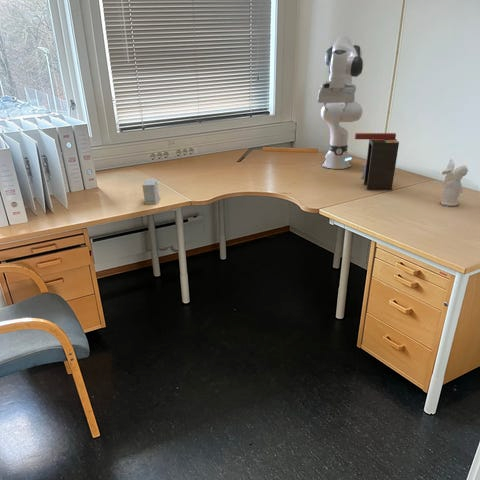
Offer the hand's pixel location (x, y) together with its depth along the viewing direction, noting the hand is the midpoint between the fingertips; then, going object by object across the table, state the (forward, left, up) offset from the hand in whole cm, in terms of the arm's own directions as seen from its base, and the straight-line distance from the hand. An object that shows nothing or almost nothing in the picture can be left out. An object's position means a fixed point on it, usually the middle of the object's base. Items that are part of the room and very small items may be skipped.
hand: (334, 111), depth 268 cm
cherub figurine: (+40, +57, -40) cm, 80 cm away
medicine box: (-7, +25, -40) cm, 48 cm away
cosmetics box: (+39, -100, -40) cm, 114 cm away
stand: (+10, +27, -40) cm, 49 cm away
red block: (+7, +23, -13) cm, 27 cm away
